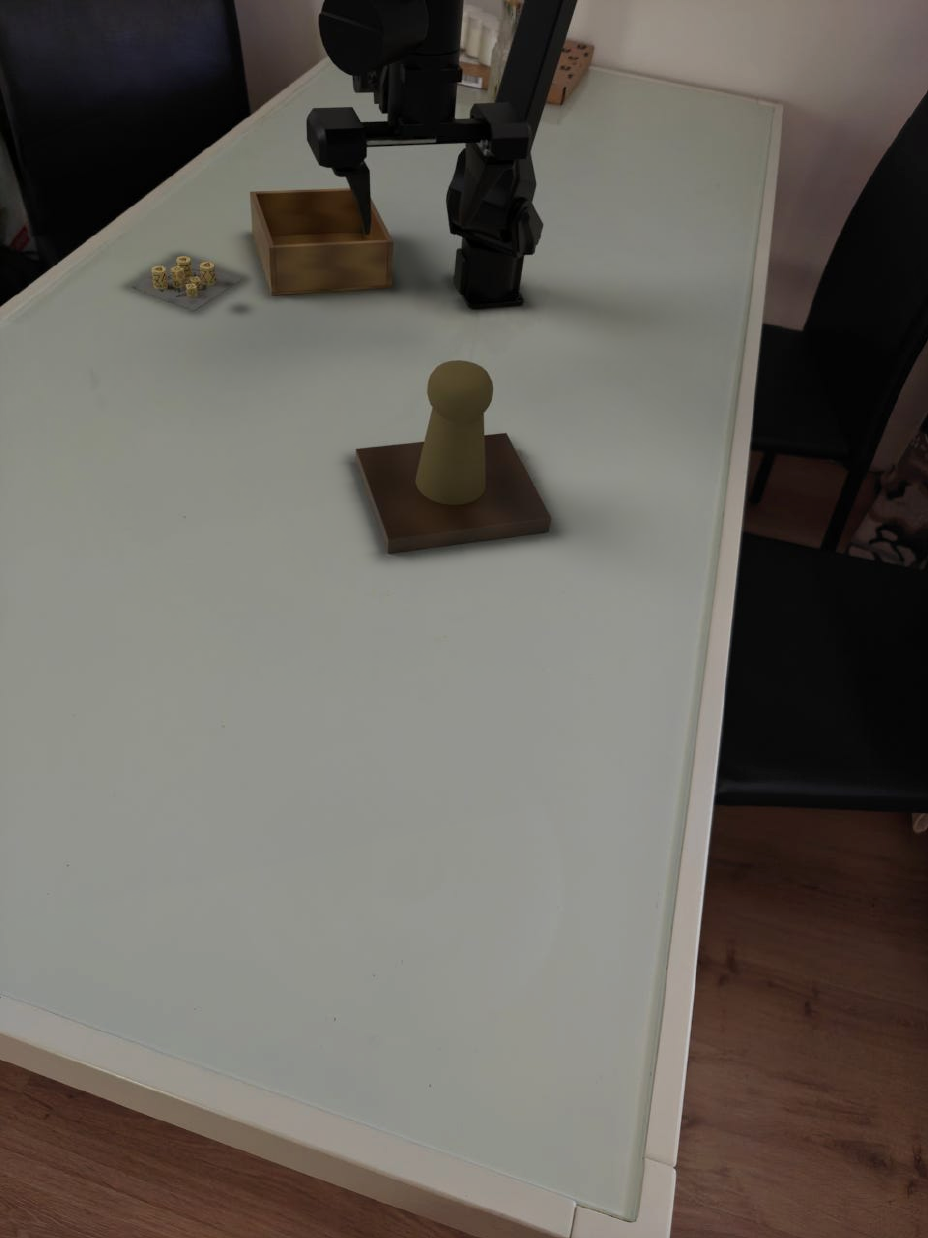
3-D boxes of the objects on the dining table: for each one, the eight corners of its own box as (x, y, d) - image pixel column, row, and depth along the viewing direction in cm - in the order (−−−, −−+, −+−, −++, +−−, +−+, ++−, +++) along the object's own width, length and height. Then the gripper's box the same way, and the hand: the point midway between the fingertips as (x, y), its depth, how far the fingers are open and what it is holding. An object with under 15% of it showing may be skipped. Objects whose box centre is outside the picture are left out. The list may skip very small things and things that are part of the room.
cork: (413, 459, 86) (421, 347, 78) (482, 460, 87) (496, 350, 79) (417, 504, 82) (425, 392, 74) (489, 505, 83) (505, 394, 75)
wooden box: (364, 231, 118) (365, 186, 114) (391, 287, 109) (393, 241, 105) (252, 236, 114) (249, 191, 110) (271, 295, 106) (268, 247, 102)
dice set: (150, 286, 105) (148, 269, 103) (181, 267, 108) (179, 250, 107) (189, 301, 103) (187, 284, 102) (219, 281, 107) (218, 264, 105)
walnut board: (504, 445, 91) (506, 432, 90) (549, 531, 84) (551, 518, 83) (355, 462, 88) (355, 448, 87) (387, 553, 80) (388, 539, 79)
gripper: (501, 9, 87) (483, 185, 99) (290, 10, 82) (297, 195, 94) (545, 55, 80) (521, 239, 92) (318, 58, 75) (322, 252, 87)
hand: (415, 229), depth 91 cm, fingers open, 9 cm apart
